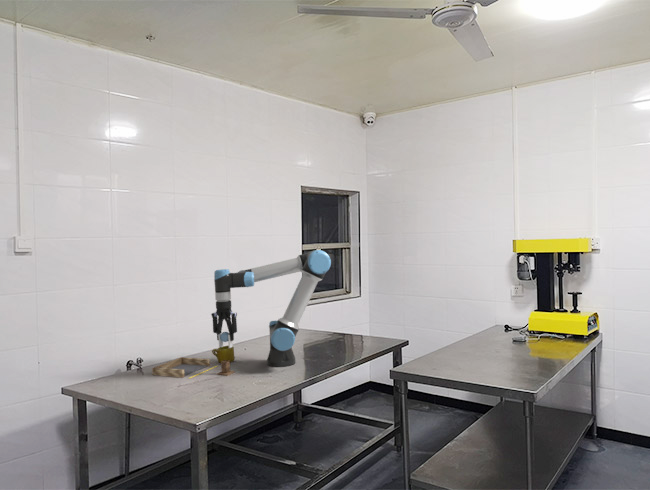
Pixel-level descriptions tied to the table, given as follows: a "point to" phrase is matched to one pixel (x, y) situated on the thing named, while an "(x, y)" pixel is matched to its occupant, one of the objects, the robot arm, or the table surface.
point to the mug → (224, 353)
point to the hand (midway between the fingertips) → (225, 347)
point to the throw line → (203, 372)
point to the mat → (189, 368)
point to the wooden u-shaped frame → (165, 368)
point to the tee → (225, 368)
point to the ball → (224, 336)
